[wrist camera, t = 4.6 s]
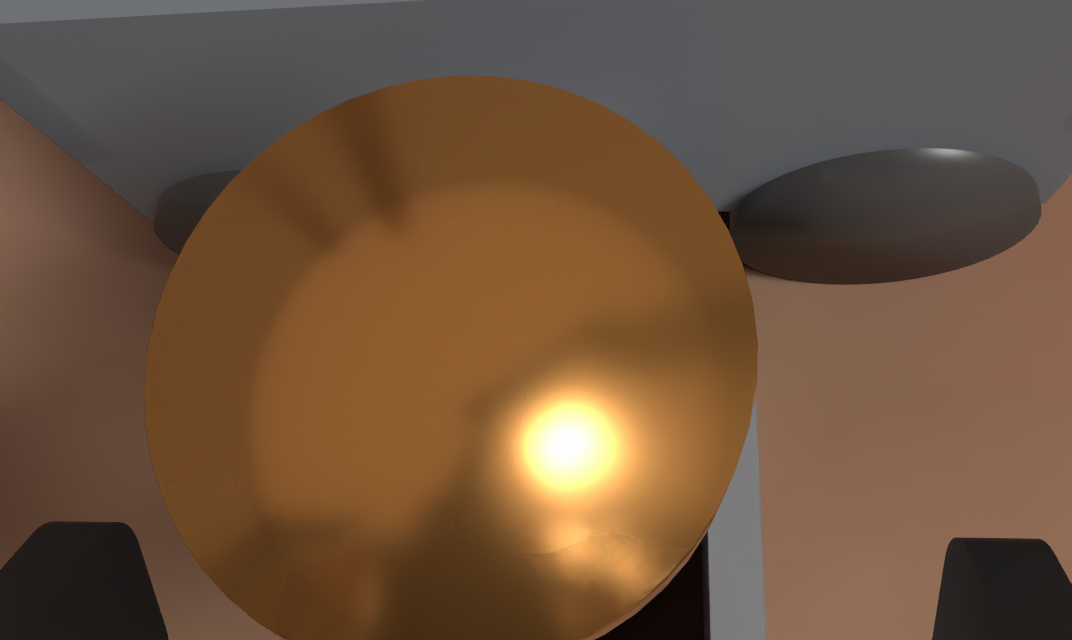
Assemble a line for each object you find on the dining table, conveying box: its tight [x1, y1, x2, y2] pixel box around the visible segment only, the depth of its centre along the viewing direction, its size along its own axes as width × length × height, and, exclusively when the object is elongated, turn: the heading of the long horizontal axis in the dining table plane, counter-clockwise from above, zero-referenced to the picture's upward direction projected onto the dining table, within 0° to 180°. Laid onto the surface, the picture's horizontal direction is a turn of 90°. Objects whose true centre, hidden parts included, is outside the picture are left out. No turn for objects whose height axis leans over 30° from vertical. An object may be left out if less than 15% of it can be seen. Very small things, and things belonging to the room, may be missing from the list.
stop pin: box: [144, 76, 758, 640], centre depth 12 cm, size 4×4×12 cm
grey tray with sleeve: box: [0, 0, 1072, 640], centre depth 15 cm, size 15×19×9 cm
